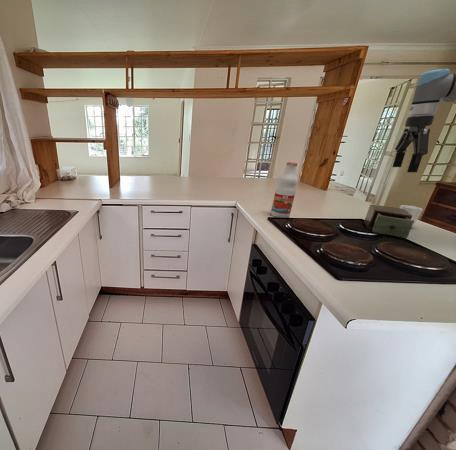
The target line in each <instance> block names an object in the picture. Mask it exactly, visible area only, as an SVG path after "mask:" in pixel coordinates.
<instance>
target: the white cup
mask: <svg viewBox="0 0 456 450" xmlns="http://www.w3.org/2000/svg"><path fill="white" fill-rule="evenodd" d="M399 208H401V209H405V210H406V211H407V212H408V213H410V214H411V215H412V218H411V220H413V221H414V223H413V225H412V228H411V229H413V228H414V226H415V225H416V223H417V221H418V219H419V218H420V216H421V214H422V212H423V210H424V209H423V208H422V207H419V206H414V205H406V204H401V205H399Z"/></svg>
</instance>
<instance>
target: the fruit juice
mask: <svg viewBox="0 0 456 450" xmlns="http://www.w3.org/2000/svg"><path fill="white" fill-rule="evenodd" d="M297 167H298V163H297V162H287V161H286V162H285V168H284V170H283V171H282V173H281V174H280V176H279V177H278V180H277V186H276V187H275V191H274V194H273V199H272V205H271V209H270V215H271V216H273V217H277V218H280V219H281V218H282V219H287V218H289V217H290V215H291V213H292V208H293V204H294V200H295V197H296V191H297V190H296V187H297V185H298V183H299V178H298V174H297Z"/></svg>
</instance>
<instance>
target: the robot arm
mask: <svg viewBox="0 0 456 450" xmlns="http://www.w3.org/2000/svg"><path fill="white" fill-rule="evenodd" d="M440 102H444V103H453V102H456V73H451V69H449V68H439V69H432V70H428V71H425V72H423V73H422V74H420V76H419V78H418V81H417V84H416V86H415V90H414V94H413V96H412V100H411V103H410V104H411V105H410V107H408V117H407V118H406V120H405V124H404V127H406V128H404V129H403V132H402V135H401V137H400V139H399V140H398V142H397V144H396V146H395V148H394V151H396V153H395V157H394V160H393V164H392V168H402V165H403V161H404V158H405V157H406V156H405V155H406V152H408V151H407V149H408V148H409V146H410V145H411V143H412V146H413V148H412V149H413V153H412V154H411V158H410V161H409V164H408V167H407V171H406V173H418V171H419V167H420V164H421V162H422V158H423V156H425V155H427V154H428V152H429V140H430V139H429V138H430V132H431V128H426V127H430V126H432V125H433V122H434V119H435V115H434V114H436V113H437V110H438V108H439V104H440Z"/></svg>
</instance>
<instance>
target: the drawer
mask: <svg viewBox="0 0 456 450" xmlns="http://www.w3.org/2000/svg"><path fill="white" fill-rule="evenodd" d="M413 223H414V221H413V220H410V219H408V218H407V217H406V216H400V215H393V214H386V213H380V212H376V214H375V217H374V220H373V222H372V225H371V227H372V228H373V229H372V230H371V232H372V233H375V234H381V235H386V236H387V235H388V236H392V237H398V238H402V239H408V238H409V237H408V236H409V234H410V232H411V230H412V229H413V228H412V225H413Z"/></svg>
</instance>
